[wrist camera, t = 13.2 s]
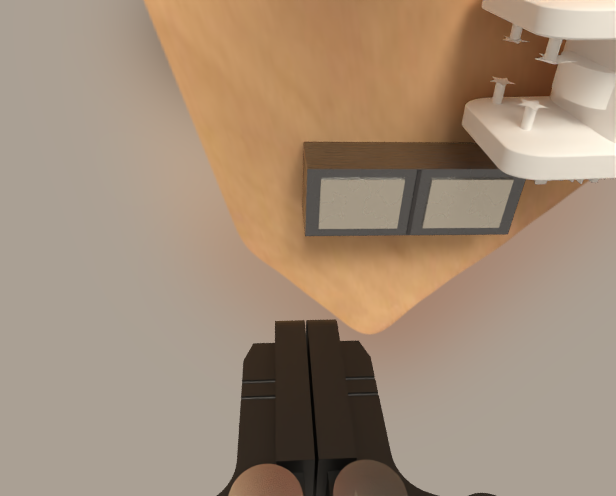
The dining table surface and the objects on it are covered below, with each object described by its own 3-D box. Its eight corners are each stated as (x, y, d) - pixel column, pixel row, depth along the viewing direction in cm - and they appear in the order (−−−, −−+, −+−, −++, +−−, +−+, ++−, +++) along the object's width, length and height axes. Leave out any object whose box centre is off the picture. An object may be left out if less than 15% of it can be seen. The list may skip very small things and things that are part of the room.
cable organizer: (682, -26, 34) (841, 0, 24) (625, 119, 40) (734, 184, 31) (475, -23, 33) (555, 5, 24) (449, 123, 39) (505, 192, 30)
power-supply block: (303, 142, 39) (307, 170, 35) (503, 142, 41) (530, 170, 36) (302, 204, 43) (305, 237, 39) (486, 204, 44) (508, 235, 40)
